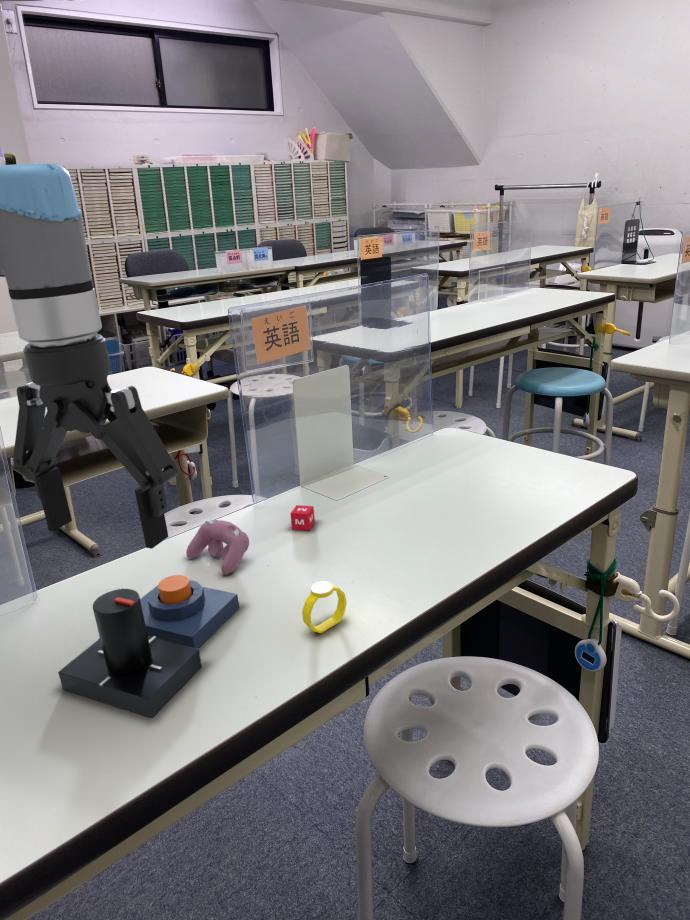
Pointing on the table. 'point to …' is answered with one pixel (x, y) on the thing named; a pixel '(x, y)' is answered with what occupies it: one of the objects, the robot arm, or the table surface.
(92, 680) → the dial panel
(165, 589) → the button
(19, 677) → the table surface
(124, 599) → the dial
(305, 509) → the red letter cube
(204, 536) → the video game controller
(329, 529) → the table surface
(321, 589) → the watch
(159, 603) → the button base
